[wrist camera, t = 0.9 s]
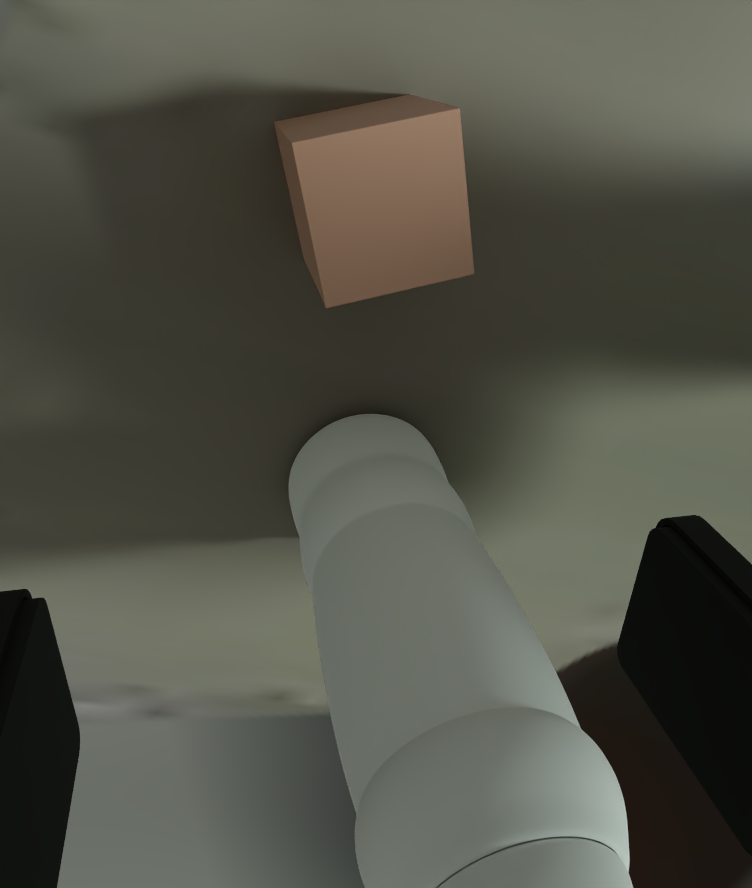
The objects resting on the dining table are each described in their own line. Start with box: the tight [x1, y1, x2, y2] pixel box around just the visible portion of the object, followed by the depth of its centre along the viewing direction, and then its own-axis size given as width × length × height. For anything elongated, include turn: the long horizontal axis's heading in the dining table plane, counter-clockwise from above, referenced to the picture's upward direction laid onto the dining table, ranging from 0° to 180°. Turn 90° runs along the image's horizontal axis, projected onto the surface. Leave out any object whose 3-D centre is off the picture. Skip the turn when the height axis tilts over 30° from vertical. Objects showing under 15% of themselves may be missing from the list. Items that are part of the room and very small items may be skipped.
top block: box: [274, 94, 474, 308], centre depth 24 cm, size 5×5×6 cm
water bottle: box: [288, 414, 633, 888], centre depth 22 cm, size 7×7×25 cm
